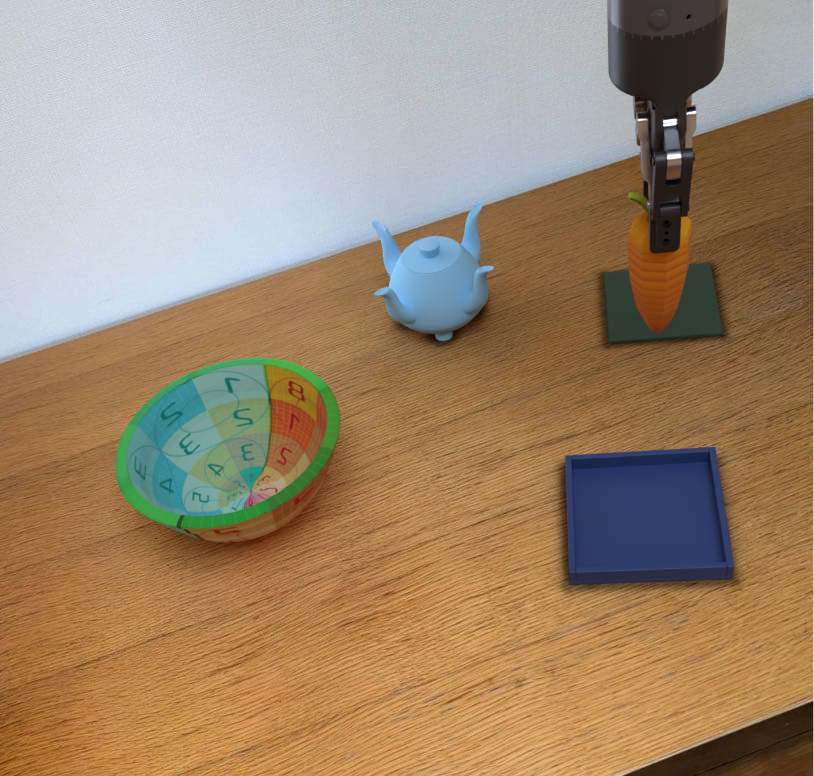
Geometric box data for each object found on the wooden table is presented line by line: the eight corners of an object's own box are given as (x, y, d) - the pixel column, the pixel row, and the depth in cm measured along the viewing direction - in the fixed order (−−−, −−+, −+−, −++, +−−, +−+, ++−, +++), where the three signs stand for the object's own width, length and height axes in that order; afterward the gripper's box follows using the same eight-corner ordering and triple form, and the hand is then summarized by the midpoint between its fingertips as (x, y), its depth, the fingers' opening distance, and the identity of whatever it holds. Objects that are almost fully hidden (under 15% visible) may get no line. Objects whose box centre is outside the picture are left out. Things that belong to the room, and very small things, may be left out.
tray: (713, 459, 96) (715, 446, 95) (732, 579, 88) (734, 566, 86) (565, 468, 99) (565, 455, 97) (569, 584, 90) (569, 572, 89)
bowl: (224, 406, 113) (195, 339, 105) (397, 449, 104) (379, 379, 96) (110, 555, 102) (68, 492, 94) (293, 617, 93) (263, 553, 85)
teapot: (491, 273, 119) (483, 200, 112) (503, 345, 111) (494, 271, 103) (386, 290, 121) (370, 219, 113) (389, 363, 112) (373, 291, 105)
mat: (710, 265, 114) (710, 262, 113) (722, 335, 106) (723, 332, 106) (603, 275, 116) (603, 272, 115) (608, 344, 108) (608, 341, 108)
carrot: (666, 359, 82) (672, 202, 71) (615, 339, 85) (613, 184, 73) (699, 324, 84) (710, 166, 72) (648, 305, 87) (651, 149, 75)
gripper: (745, 47, 58) (723, 282, 71) (713, -57, 67) (699, 169, 80) (615, 66, 59) (617, 293, 73) (600, -39, 68) (605, 181, 81)
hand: (660, 227), depth 76 cm, fingers closed on carrot, 5 cm apart
